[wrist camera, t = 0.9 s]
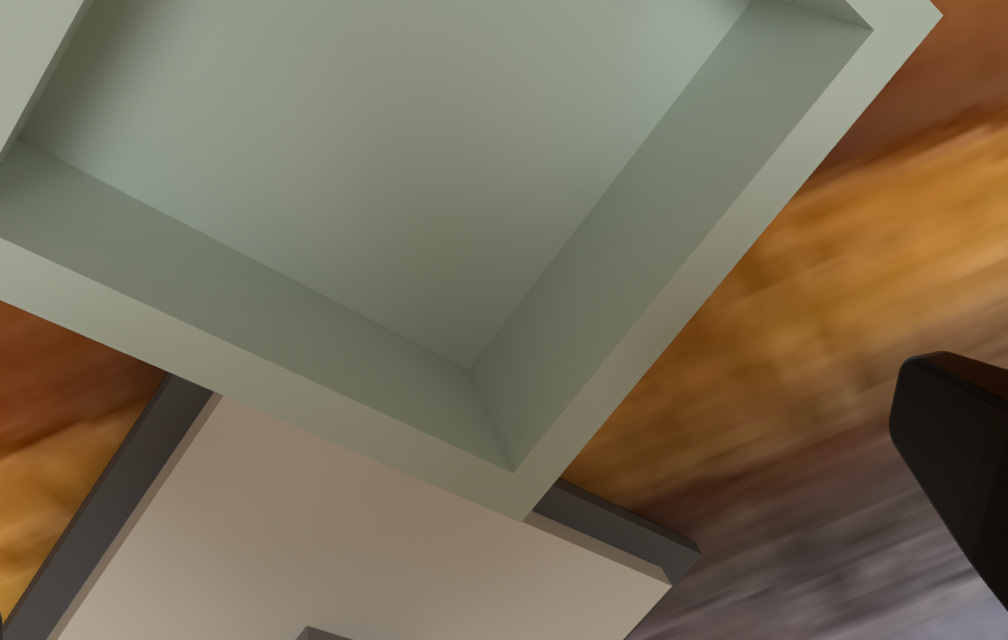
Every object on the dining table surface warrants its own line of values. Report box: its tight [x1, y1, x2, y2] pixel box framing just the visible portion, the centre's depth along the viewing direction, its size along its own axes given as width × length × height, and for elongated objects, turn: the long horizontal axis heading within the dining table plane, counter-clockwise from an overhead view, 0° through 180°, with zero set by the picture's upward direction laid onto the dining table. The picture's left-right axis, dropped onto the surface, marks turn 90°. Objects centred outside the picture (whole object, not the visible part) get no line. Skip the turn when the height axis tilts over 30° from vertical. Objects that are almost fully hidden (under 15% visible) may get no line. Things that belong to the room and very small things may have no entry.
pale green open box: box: [0, 0, 943, 522], centre depth 17 cm, size 13×13×5 cm
